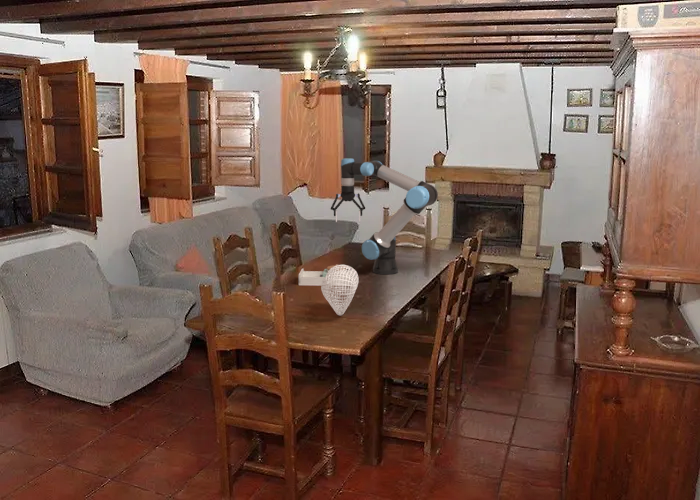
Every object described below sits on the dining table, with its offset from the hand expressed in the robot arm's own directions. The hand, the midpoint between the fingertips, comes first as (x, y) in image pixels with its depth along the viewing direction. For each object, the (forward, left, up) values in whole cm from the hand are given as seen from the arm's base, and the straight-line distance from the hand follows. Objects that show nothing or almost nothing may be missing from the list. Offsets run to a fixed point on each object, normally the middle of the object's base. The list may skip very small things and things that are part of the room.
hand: (348, 221), depth 381 cm
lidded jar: (+5, +25, -30) cm, 39 cm away
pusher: (+12, +25, -29) cm, 40 cm away
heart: (-1, +87, -31) cm, 92 cm away
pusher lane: (+10, +25, -31) cm, 41 cm away
